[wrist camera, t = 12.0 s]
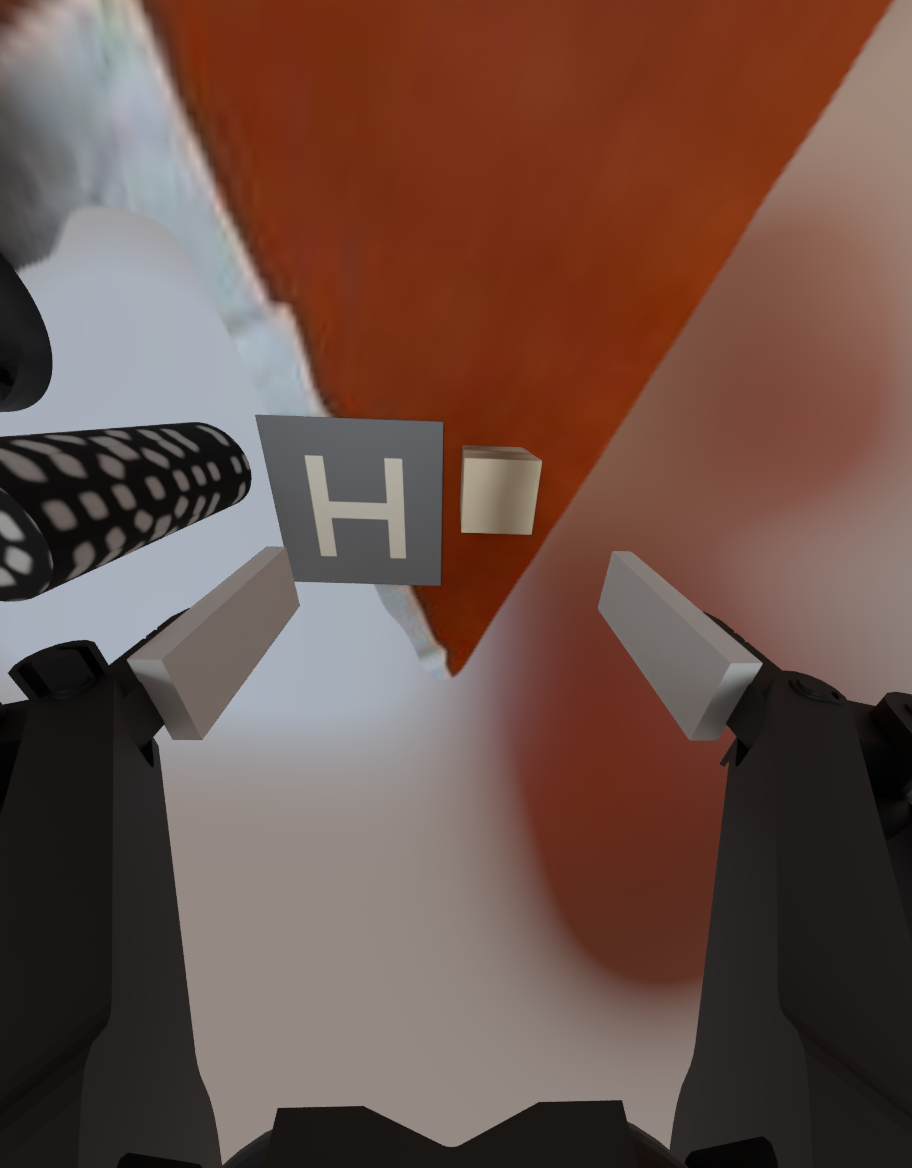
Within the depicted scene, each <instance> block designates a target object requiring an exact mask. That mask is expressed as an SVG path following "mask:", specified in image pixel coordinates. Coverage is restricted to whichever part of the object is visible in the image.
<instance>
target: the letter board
mask: <svg viewBox="0 0 912 1168" xmlns="http://www.w3.org/2000/svg"><path fill="white" fill-rule="evenodd" d="M255 417H256V421H257V426H258V430H259V435H260V440H261V444H262V449H263V453H264V458H265V462H266V467H267V471H268V476H269V481H270V485H271V489H272V494H273V499H274V503H275V508H276V512H277V517H278V521H279V526H280V531H281V535H282V540H283V544H284V547H286V549H287V553H288V558H289V562H290V566H291V570H292V574H293V579H294V581H298V582H329V583H330V582H331V583H333V582H334V583H364V584H396V585H429V586H441V544H442V478H443V422H433V421H407V420H381V419H354V418H328V417H302V416H275V415H255Z"/></svg>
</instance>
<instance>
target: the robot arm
mask: <svg viewBox="0 0 912 1168" xmlns="http://www.w3.org/2000/svg"><path fill="white" fill-rule="evenodd" d="M51 375H52V351H51V346H50V340H49V337H48V333H47V330H46V327H45V324H44V322H43V319H42V317H41V314H40V312H39V310H38V308H37V306H36V304H35V302H34V300H33V298H32V297H31V295H30V293H29V292H28V290H27V288H26V287H25V285H24V284H23V282H22V281H21V279H20V278H19V276H18V275H17V274H16V272H15V271H14V270H13V268H12V267H11V266H10V264H9V263H8V262H7V261H6V260H5V258H4V257H3V256H2V255H1V254H0V412H10V411H18V410H22V409H25V408H28V407H30V406H32V405H34V404H35V403H36V402H38V401H39V400H40V399H41V398H42V396H43V395H44V394H45V392H46V390H47V388H48V386H49V383H50V380H51ZM299 606H300V604H299V600H298V596H297V591H296V588H295V583H294V579H293V574H292V570H291V566H290V562H289V558H288V553H287V549H286V547H266V548H264V549H263V550H262V551H261V552H259V553H258V554H257V555H256V556H254V557H253V558H252V559H251V560H249V561H248V562H247V563H246V564H245V565H243V566H242V567H241V568H239V569H238V570H237V571H236V572H234V573H233V574H232V575H231V576H230V577H228V578H227V579H226V580H225V581H223V582H222V583H221V584H220V585H218V586H217V587H216V588H215V589H213V590H212V591H211V592H210V593H209V594H207V595H206V596H205V597H203V598H202V599H201V600H200V601H199V602H197V603H196V604H195V605H194V606H192V607H191V608H188V609H186V610H184V611H182V612H180V613H178V614H176V615H174V616H172V617H170V618H169V619H168V620H167V621H165V622H164V623H163V624H161V625H160V626H159V627H158V628H157V630H154V631H152V632H151V633H150V634H149V635H147V636H146V639H142V640H141V641H140V642H138V643H137V644H136V645H135V646H133V647H132V648H131V649H129V650H128V651H127V652H125V653H124V654H123V655H122V656H121V657H119V658H118V659H117V660H115V661H114V662H113V663H111V664H110V665H108V663H107V662H106V660H105V659H104V657H103V655H102V654H101V652H100V650H99V649H98V647H97V646H96V644H95V642H92V641H88V640H78V641H71V642H66V643H62V644H57V645H54V646H52V647H49V648H46V649H43V650H40V651H38V652H36V653H34V654H32V655H30V656H28V657H26V658H24V659H23V660H21V661H20V662H19V663H17V664H15V665H14V666H13V667H12V669H11V670H10V671H9V673H8V674H9V675H10V677H11V678H12V679H13V680H14V681H15V683H16V684H17V685H18V686H19V688H20V689H21V690H22V691H23V693H24V694H25V695H26V696H27V697H28V699H29V700H24V701H19V702H14V703H9V704H4V705H2V703H1V702H0V1168H912V695H911V694H906V693H900V692H892V693H887V694H886V695H885V696H884V697H883V699H882V700H881V701H880V702H879V703H878V704H877V705H876V706H872V705H868V704H863V703H858V702H853V701H849V700H847V699H846V698H845V696H843V695H842V694H841V693H840V692H839V691H837V690H836V689H835V688H833V687H832V686H830V685H828V684H827V683H825V682H823V681H821V680H819V679H817V678H814V677H812V676H809V675H806V674H803V673H799V672H795V671H782V670H781V669H780V668H778V667H777V666H776V665H775V664H774V663H772V662H771V661H770V660H769V659H767V658H766V657H765V656H764V655H763V654H761V653H760V652H759V651H757V650H756V649H755V648H754V647H753V646H751V645H750V644H749V643H748V642H745V640H744V639H743V638H742V637H741V636H739V635H738V634H737V633H734V631H733V630H732V629H731V628H730V627H728V626H727V625H726V624H725V623H723V622H722V621H721V620H719V619H717V618H715V617H713V616H712V615H710V614H708V613H706V612H702V611H701V610H699V609H698V608H697V607H696V606H694V604H692V603H691V602H690V601H689V600H688V599H686V598H685V597H684V596H683V595H682V594H681V593H679V592H678V591H677V590H676V589H675V588H673V587H672V586H671V585H670V584H669V583H668V582H666V581H665V580H664V579H663V578H662V577H661V576H659V575H658V574H657V573H656V572H655V571H653V570H652V569H651V568H650V567H649V566H648V565H646V564H645V563H644V562H643V561H642V560H640V559H639V558H638V557H637V556H636V555H634V554H633V553H632V552H627V551H621V552H620V551H613V552H612V555H611V559H610V563H609V567H608V570H607V574H606V578H605V582H604V586H603V590H602V593H601V598H600V602H599V605H598V610H599V611H600V613H601V614H602V616H603V617H604V618H605V620H606V621H607V622H608V624H609V626H610V627H611V628H612V630H613V631H614V633H615V634H616V635H617V637H618V638H619V639H620V641H621V643H622V644H623V646H624V647H625V648H626V650H627V651H628V652H629V654H630V656H631V657H632V658H633V660H634V661H635V662H636V664H637V665H638V667H639V668H640V670H641V671H642V673H643V674H644V676H645V677H646V678H647V680H648V681H649V683H650V684H651V686H652V687H653V689H654V690H655V691H656V693H657V694H658V696H659V697H660V698H661V700H662V701H663V703H664V704H665V706H666V707H667V709H668V710H669V711H670V713H671V714H672V716H673V717H674V718H675V720H676V721H677V723H678V724H679V726H680V727H681V729H682V730H683V731H684V733H685V734H686V736H687V737H688V738H689V740H718V738H719V736H720V734H721V733H722V731H723V730H724V728H725V726H726V725H727V726H728V727H729V728H730V729H731V730H732V731H733V733H734V734H735V735H736V736H737V737H736V738H735V740H734V742H733V743H732V745H731V746H730V748H729V749H728V751H727V753H726V754H725V756H724V757H723V759H722V761H721V762H720V765H722V766H725V765H726V764H727V762H729V767H728V775H727V783H726V791H725V800H724V808H723V817H722V825H721V834H720V842H719V850H718V859H717V867H716V876H715V884H714V892H713V901H712V909H711V918H710V926H709V934H708V943H707V951H706V959H705V968H704V976H703V984H702V993H701V1001H700V1010H699V1019H698V1026H697V1035H696V1043H695V1049H694V1055H693V1058H692V1062H691V1066H690V1068H689V1070H688V1073H687V1075H686V1077H685V1080H684V1082H683V1084H682V1087H681V1091H680V1094H679V1098H678V1102H677V1106H676V1112H675V1117H674V1122H673V1130H672V1136H671V1144H670V1150H669V1149H667V1148H666V1147H665V1146H664V1145H662V1143H660V1142H659V1141H658V1140H656V1139H655V1138H653V1137H652V1136H650V1135H649V1134H647V1133H646V1132H644V1131H643V1130H641V1129H640V1128H638V1127H637V1126H635V1125H634V1124H631V1123H629V1122H627V1119H626V1115H625V1111H624V1107H623V1103H622V1100H612V1101H573V1102H571V1101H570V1102H538V1103H537V1104H535V1105H533V1106H531V1107H529V1108H527V1109H526V1110H524V1111H522V1112H520V1113H518V1114H516V1115H515V1116H513V1117H511V1118H509V1119H508V1120H506V1121H504V1122H502V1123H500V1124H498V1125H496V1126H494V1127H493V1128H491V1129H489V1130H487V1131H485V1132H484V1133H482V1134H480V1135H478V1136H476V1137H475V1138H473V1139H471V1140H469V1141H467V1142H465V1143H463V1144H462V1145H459V1146H457V1147H446V1146H443V1145H441V1144H439V1143H437V1142H435V1141H433V1140H431V1139H429V1138H427V1137H425V1136H423V1135H421V1134H419V1133H417V1132H414V1131H413V1130H411V1129H409V1128H407V1127H404V1126H403V1125H401V1124H399V1123H397V1122H395V1121H392V1120H390V1119H388V1118H386V1117H384V1116H382V1115H380V1114H378V1113H376V1112H374V1111H372V1110H370V1109H368V1108H366V1107H364V1106H347V1107H307V1108H306V1107H303V1108H278V1109H277V1113H276V1118H275V1121H274V1126H273V1129H272V1130H270V1131H268V1132H266V1133H264V1134H263V1135H261V1136H260V1137H258V1138H257V1139H255V1140H254V1141H252V1142H251V1143H250V1144H248V1145H247V1146H245V1147H244V1148H242V1149H241V1150H240V1151H238V1152H237V1153H236V1154H235V1155H234V1156H233V1157H232V1158H230V1159H229V1160H228V1161H227V1162H226V1163H225V1164H224V1165H222V1162H221V1155H220V1147H219V1140H218V1133H217V1128H216V1122H215V1117H214V1112H213V1109H212V1105H211V1101H210V1098H209V1095H208V1093H207V1090H206V1088H205V1086H204V1083H203V1081H202V1078H201V1076H200V1072H199V1069H198V1065H197V1060H196V1055H195V1046H194V1038H193V1030H192V1022H191V1013H190V1005H189V996H188V988H187V981H186V971H185V963H184V955H183V946H182V938H181V930H180V921H179V913H178V905H177V896H176V888H175V880H174V872H173V864H172V856H171V847H170V838H169V830H168V821H167V813H166V805H165V796H164V788H163V780H162V771H161V763H160V755H159V747H158V744H157V743H156V741H155V739H154V738H153V737H154V735H155V734H156V733H157V732H158V731H159V730H160V729H161V727H162V726H163V725H165V727H166V729H167V730H168V732H169V734H170V736H171V737H172V739H173V740H202V739H203V738H204V737H205V735H206V734H207V733H208V731H209V730H210V729H211V727H212V726H213V724H214V723H215V722H216V720H217V719H218V718H219V716H220V715H221V713H222V712H223V711H224V709H225V708H226V707H227V705H228V704H229V702H230V701H231V700H232V698H233V697H234V696H235V694H236V693H237V691H238V690H239V689H240V687H241V686H242V685H243V683H244V682H245V680H246V679H247V678H248V676H249V675H250V674H251V672H252V671H253V669H254V668H255V667H256V665H257V664H258V663H259V661H260V660H261V658H262V657H263V656H264V654H265V653H266V652H267V650H268V649H269V647H270V646H271V645H272V643H273V642H274V641H275V639H276V638H277V636H278V635H279V634H280V632H281V631H282V630H283V628H284V627H285V625H286V624H287V623H288V621H289V620H290V619H291V617H292V616H293V614H294V613H295V612H296V610H297V609H298V607H299Z"/></svg>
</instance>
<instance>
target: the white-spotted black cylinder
mask: <svg viewBox="0 0 912 1168" xmlns="http://www.w3.org/2000/svg"><path fill="white" fill-rule="evenodd" d="M251 479H252V478H251V469H250V466H249V462H248V460H247V458H246V456H245V454H244V452H243V451H242V450H241V448H240V447H239V445H238V444H237V443H236V442H235V441H234V440H233V439H232V438H231V437H230V436H229V435H227V434H226V433H225V432H223V431H221V430H220V429H218V428H216V427H214V426H211V425H209V424H205V423H200V422H189V423H176V424H162V425H149V426H136V427H123V428H110V429H96V430H83V431H70V432H57V433H44V434H31V435H17V436H5V437H0V601H5V602H6V601H22V600H27V599H31V598H34V597H36V596H38V595H40V594H42V593H44V592H46V591H49V590H51V589H53V588H55V587H57V586H59V585H61V584H64V583H66V582H68V581H70V580H72V579H74V578H77V577H79V576H81V575H83V574H85V573H87V572H90V571H92V570H94V569H96V568H98V567H101V566H103V565H105V564H107V563H109V562H111V561H113V560H116V559H118V558H120V557H122V556H124V555H126V554H128V553H131V552H133V551H135V550H137V549H139V548H141V547H144V546H146V545H148V544H150V543H152V542H154V541H157V540H159V539H161V538H163V537H165V536H167V535H170V534H172V533H174V532H176V531H178V530H180V529H183V528H185V527H187V526H189V525H191V524H193V523H196V522H198V521H200V520H202V519H204V518H206V517H209V516H211V515H213V514H215V513H217V512H219V511H222V510H224V509H226V508H228V507H230V506H232V505H235V504H237V503H238V502H240V501H241V500H243V499H244V498H245V496H246V495H247V493H248V492H249V489H250V486H251Z"/></svg>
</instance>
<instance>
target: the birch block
mask: <svg viewBox="0 0 912 1168" xmlns="http://www.w3.org/2000/svg"><path fill="white" fill-rule="evenodd" d="M541 465H542V461H541V460H540V459H539V458H537V457H536V456H534V455H533V454H531V453H530V452H528V451H527V450H525V449H524V448H522V447H498V446H471V445H463V448H462V473H461V498H460V511H461V532H465V533H496V534H527V535H531V534H532V527H533V520H534V513H535V506H536V500H537V493H538V486H539V479H540V472H541Z"/></svg>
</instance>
